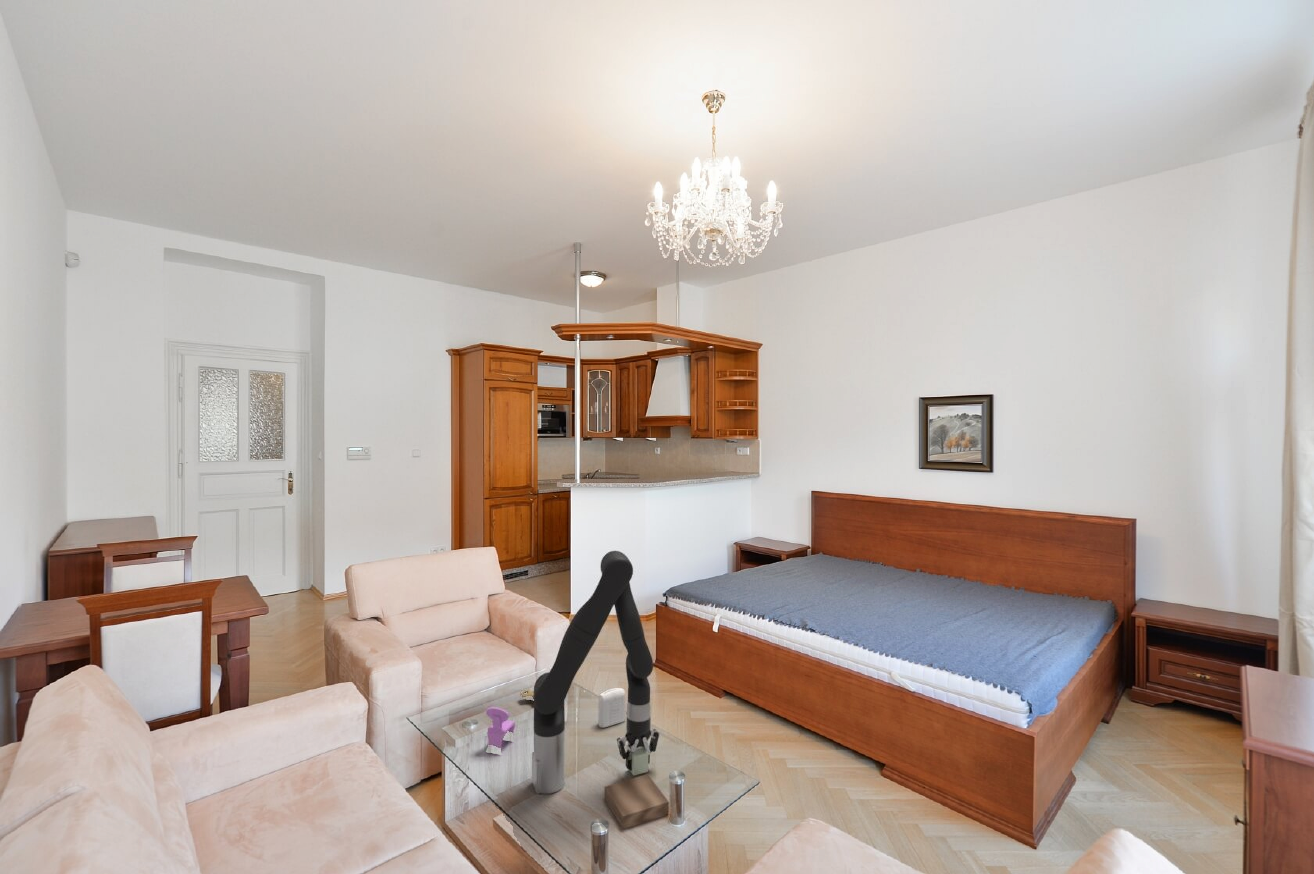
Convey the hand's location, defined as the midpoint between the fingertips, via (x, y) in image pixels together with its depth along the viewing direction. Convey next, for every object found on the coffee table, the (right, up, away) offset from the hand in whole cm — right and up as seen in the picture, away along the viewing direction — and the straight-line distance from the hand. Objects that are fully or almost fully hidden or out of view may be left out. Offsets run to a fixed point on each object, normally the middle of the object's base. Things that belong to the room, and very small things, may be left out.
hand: (637, 766), depth 185 cm
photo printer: (-10, -1, +29) cm, 31 cm away
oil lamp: (-39, 0, +43) cm, 58 cm away
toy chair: (-47, -1, +13) cm, 49 cm away
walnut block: (0, -3, -16) cm, 16 cm away
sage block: (0, -1, 0) cm, 1 cm away
